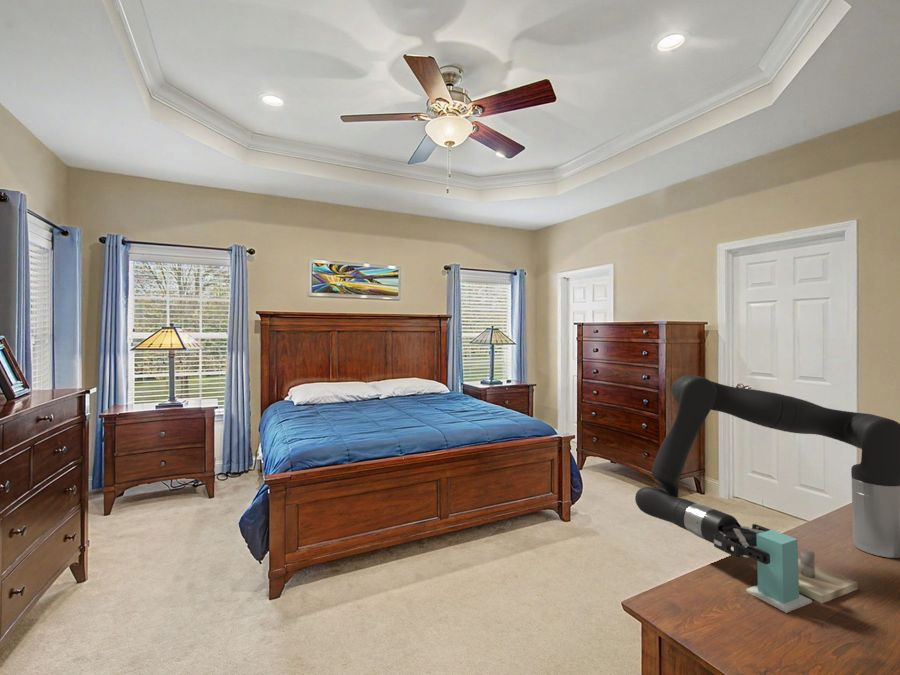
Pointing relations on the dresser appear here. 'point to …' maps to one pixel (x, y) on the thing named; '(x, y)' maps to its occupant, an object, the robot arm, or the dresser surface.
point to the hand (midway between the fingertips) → (782, 555)
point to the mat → (784, 607)
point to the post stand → (821, 580)
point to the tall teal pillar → (778, 566)
